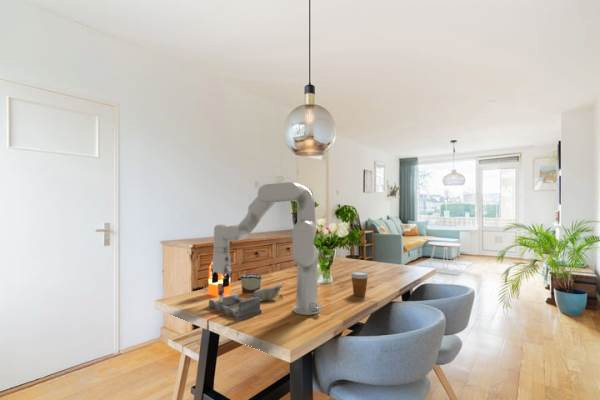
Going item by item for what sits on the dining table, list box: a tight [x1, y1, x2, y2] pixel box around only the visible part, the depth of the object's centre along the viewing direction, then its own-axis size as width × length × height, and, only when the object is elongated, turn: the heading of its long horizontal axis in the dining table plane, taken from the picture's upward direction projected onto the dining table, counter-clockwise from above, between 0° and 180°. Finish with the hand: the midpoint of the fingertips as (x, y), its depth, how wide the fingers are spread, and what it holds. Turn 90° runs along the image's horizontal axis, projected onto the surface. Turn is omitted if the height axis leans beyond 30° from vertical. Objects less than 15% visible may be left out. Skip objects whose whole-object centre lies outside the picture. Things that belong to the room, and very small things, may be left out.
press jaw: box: [218, 283, 240, 306], centre depth 147 cm, size 10×9×8 cm
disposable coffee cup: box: [350, 270, 369, 297], centre depth 167 cm, size 10×10×12 cm
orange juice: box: [208, 260, 231, 298], centre depth 167 cm, size 8×9×20 cm
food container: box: [239, 273, 263, 295], centre depth 170 cm, size 12×6×10 cm, turn 84°
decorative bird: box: [251, 284, 284, 301], centre depth 156 cm, size 5×16×8 cm, turn 110°
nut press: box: [208, 296, 263, 321], centre depth 142 cm, size 25×12×8 cm, turn 47°
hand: (220, 284), depth 150 cm, fingers open, 9 cm apart
